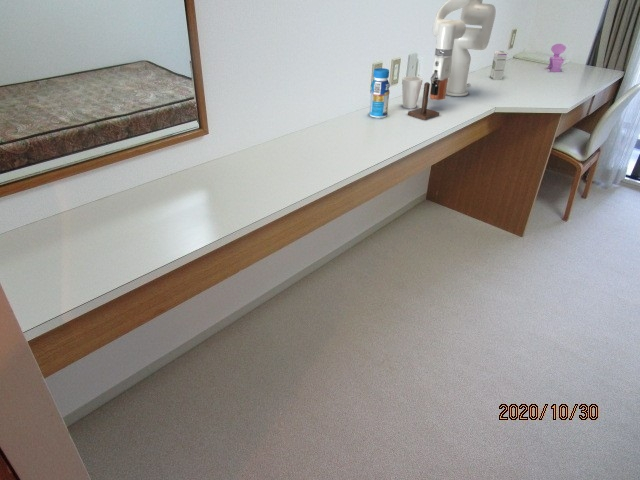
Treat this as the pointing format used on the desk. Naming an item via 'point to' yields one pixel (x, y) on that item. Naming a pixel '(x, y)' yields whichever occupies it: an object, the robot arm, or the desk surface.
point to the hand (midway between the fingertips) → (438, 92)
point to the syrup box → (498, 64)
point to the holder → (424, 107)
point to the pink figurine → (556, 58)
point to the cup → (440, 90)
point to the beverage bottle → (379, 93)
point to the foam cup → (411, 91)
